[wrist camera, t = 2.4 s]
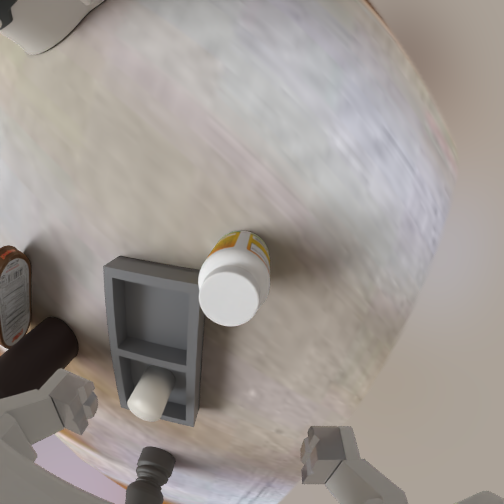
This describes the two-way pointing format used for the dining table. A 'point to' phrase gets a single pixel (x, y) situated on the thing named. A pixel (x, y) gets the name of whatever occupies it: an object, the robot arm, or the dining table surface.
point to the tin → (14, 295)
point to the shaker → (151, 393)
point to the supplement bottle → (235, 279)
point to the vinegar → (36, 357)
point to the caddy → (156, 330)
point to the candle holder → (150, 477)
